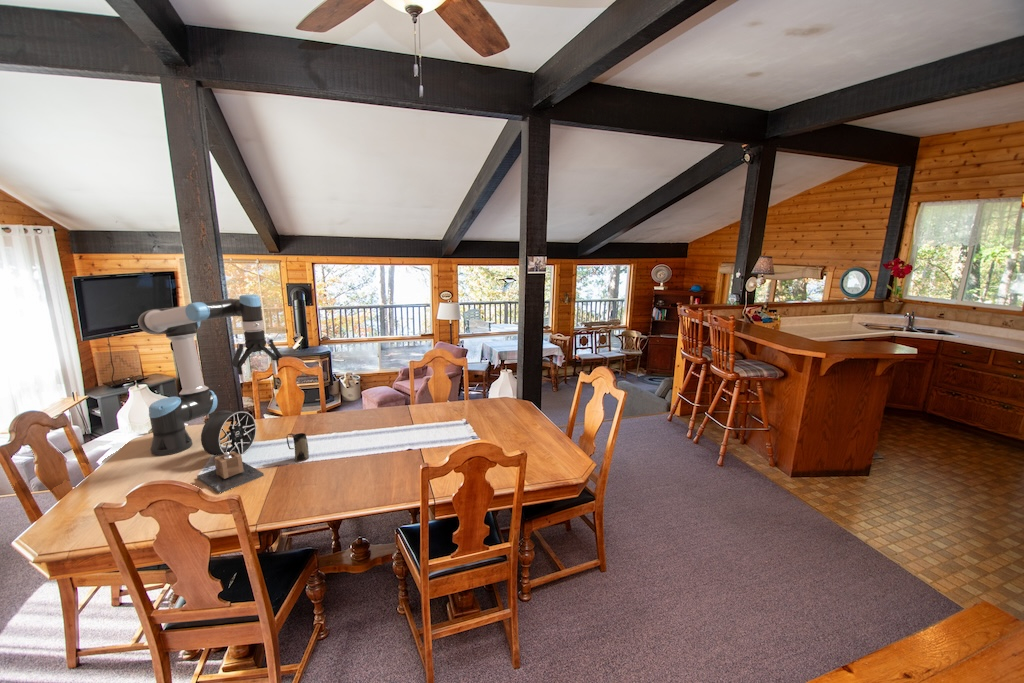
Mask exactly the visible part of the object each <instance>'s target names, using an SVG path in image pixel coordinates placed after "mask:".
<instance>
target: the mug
mask: <svg viewBox="0 0 1024 683" xmlns="http://www.w3.org/2000/svg"><path fill="white" fill-rule="evenodd" d="M289 436H292V438H293V446H294V448H293V447H291V446H290V442H289ZM286 444H287V446H288V448H289V450H294V461H295V462H296V463H297V462H298V463H303V462H305V461H308V459H309V456H310V455H309V453H310V451H309V444H308V438H307V435H306V433H304V432H300V433H296V434H295V433H288V434H287V435H286Z"/></svg>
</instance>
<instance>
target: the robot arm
mask: <svg viewBox="0 0 1024 683" xmlns="http://www.w3.org/2000/svg"><path fill="white" fill-rule="evenodd" d="M262 312H263V310H262V302H261V298H260V296H259V295H258V294H241V295H240V296H239V298H223V299H220V300H219V299H218V300H209V301H208V300H207V301H196V302H195V301H194V302H192V303H191V302H190V303H188V304H186V305H182V306H174V307H172V306H171V307H164V308H153V309H148V310H146V311H144V312H142V313H141V314H140V316H139V317H138V319H137V323H138V326H139V329H140V330H142V331H143V332H144V333H146V334H149V335H158V336H159V335H165V337H166V338H167V339H168V340H170V342H171V344H172V349H173V355H174V358H175V362H176V367H177V371H178V376H179V380H180V385H181V388H182V389H181V390H180V392H179V393H178V394H179V396H168V397H164V398H161V399H158V400H156V401H154V402H152V403H151V404H150V405H149V407H148V417H149V421H150V425H151V431H152V435H153V436H152V440H151V444H150V454H151V455H152V456H159V457H160V456H168V455H173V454H177V453H181V452H183V451H185V450H188V449H190V448H191V447H192V446H193V439H192V438H191V436H190V434H189V433H188V432H187V430H186V425H185V423H188V422H190V421H193V420H195V419H200V418H202V417H206V416H207V415H210V414H213V413H214V412H215V410H216V409H217V407H218V397H217V394H215V392H214V391H213V390H211V389H210V388H209V386H206V385H205V383H204V379H203V372H202V370H201V365H200V360H199V355H198V350H197V347H196V342H195V337H196V335H197V333H198V332H197V330H198V329H199V328H200V327H201V322H205V321H208V320H209V321H210V320H215V319H216V320H217V319H223V318H230V317H233V318H234V317H241V319H242V320H241V321H242V329H243V331H244V332H243V334H244V335H243V336H244V341H245V342H244V343H237V345H236V351H235V354H234V356H233V359H232V362H231V363H230V365H231V366H232V367H234V368H235V367H236V370H237V375H240V382H243V383H245V382H246V381H247V380H246V374H245V367H244V366H243V365H244V363H246V361H247V359H249V357H250V355H251V354H252V353H257V352H262V351H263V352H264V353H265V354H266V355H268V356H269V357H270V358H272V359H271V367H272V368H271V369H272V374H273V375H275V376H277V375H278V374H279V372H278V367H279V360H280V359H281V358H283V355H282V353H281V352H280V351H279V349H278V347H277V346H276V345H275V344H274V340H273V338H272V339H271V338H267V339H266V335H265V330H264V320H263V313H262ZM266 345H268V347H270V349H271V350H272V351H270V350H269V348H267V346H266ZM245 348H246V349H245ZM244 349H245V351H244V352H243V350H244ZM242 353H243V355H242Z"/></svg>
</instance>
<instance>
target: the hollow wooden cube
mask: <svg viewBox="0 0 1024 683" xmlns="http://www.w3.org/2000/svg"><path fill="white" fill-rule="evenodd" d="M229 454H230V455H231V456H232V457H231V458H228V459H225V460H224V456H225V454H223V455H217V456H215V457H214V458H213V461H214V465H215V469H216V473H217V474H218V475H219V476H221V477H222V478H224V479H225V478H228V477H231V476H233V475H236V474H238V473H241V472H244V470H243V463H242V462H243V458H242V455H240V454H238V453H236V452H234V451H232V452H229Z"/></svg>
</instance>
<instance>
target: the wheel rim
mask: <svg viewBox="0 0 1024 683" xmlns="http://www.w3.org/2000/svg"><path fill="white" fill-rule="evenodd" d="M229 419H231V422H230V424H229V423H228V424H227V421H228V420H229ZM256 423H257V422H256V421H255V418H254V417H253V415H252V414H250V412H247V411H234V412H233V411H231V410H219V411H217V412H215V413H212V415H211V416H210V417H209V418H207V420H206V421H205V423H204V424H203V427H202V430H201V433H200V443H201V446H202V448H203V450H204V451H205V452H206V454H209V455H211V456H221V455H223V454H225V453H226V452H232V451H234V452H236V453H238V454H240V455H241V456H242V455H244V454H245V453H246V452H248V450H250V448H251V447H252V445H253V443H254V442H255V438H256V435H257V424H256ZM224 426H229V427H228V430H227V431H226V430H225V429H224ZM222 431H223V433H224V435H223V436H222V437H221V432H222ZM225 439H227V440H226V441H223V440H225ZM222 441H223V442H222ZM229 444H230V445H231V446H230V447H229ZM222 445H225V449H223V448H222Z"/></svg>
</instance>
